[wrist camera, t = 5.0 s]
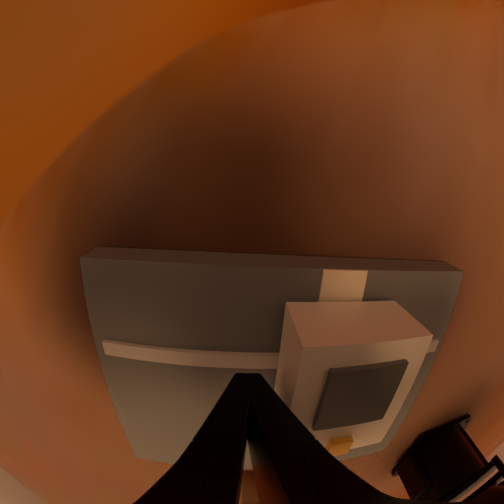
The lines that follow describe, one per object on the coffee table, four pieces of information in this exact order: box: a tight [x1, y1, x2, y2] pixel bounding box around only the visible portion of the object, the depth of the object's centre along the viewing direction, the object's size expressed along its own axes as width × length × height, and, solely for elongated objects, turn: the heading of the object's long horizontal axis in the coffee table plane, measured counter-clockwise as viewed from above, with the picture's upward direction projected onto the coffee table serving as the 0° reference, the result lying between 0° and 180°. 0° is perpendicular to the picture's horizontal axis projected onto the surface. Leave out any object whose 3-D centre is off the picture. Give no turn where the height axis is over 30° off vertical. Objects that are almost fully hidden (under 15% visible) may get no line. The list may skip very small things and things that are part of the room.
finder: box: [274, 301, 433, 456], centre depth 8 cm, size 4×5×3 cm
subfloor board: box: [79, 247, 464, 469], centre depth 11 cm, size 15×12×2 cm
